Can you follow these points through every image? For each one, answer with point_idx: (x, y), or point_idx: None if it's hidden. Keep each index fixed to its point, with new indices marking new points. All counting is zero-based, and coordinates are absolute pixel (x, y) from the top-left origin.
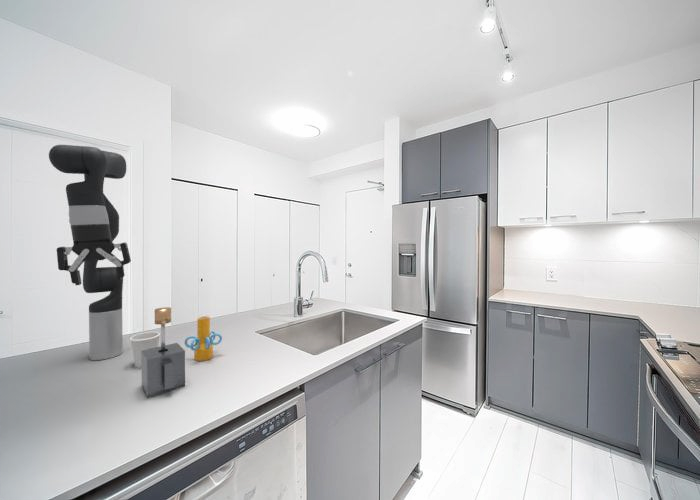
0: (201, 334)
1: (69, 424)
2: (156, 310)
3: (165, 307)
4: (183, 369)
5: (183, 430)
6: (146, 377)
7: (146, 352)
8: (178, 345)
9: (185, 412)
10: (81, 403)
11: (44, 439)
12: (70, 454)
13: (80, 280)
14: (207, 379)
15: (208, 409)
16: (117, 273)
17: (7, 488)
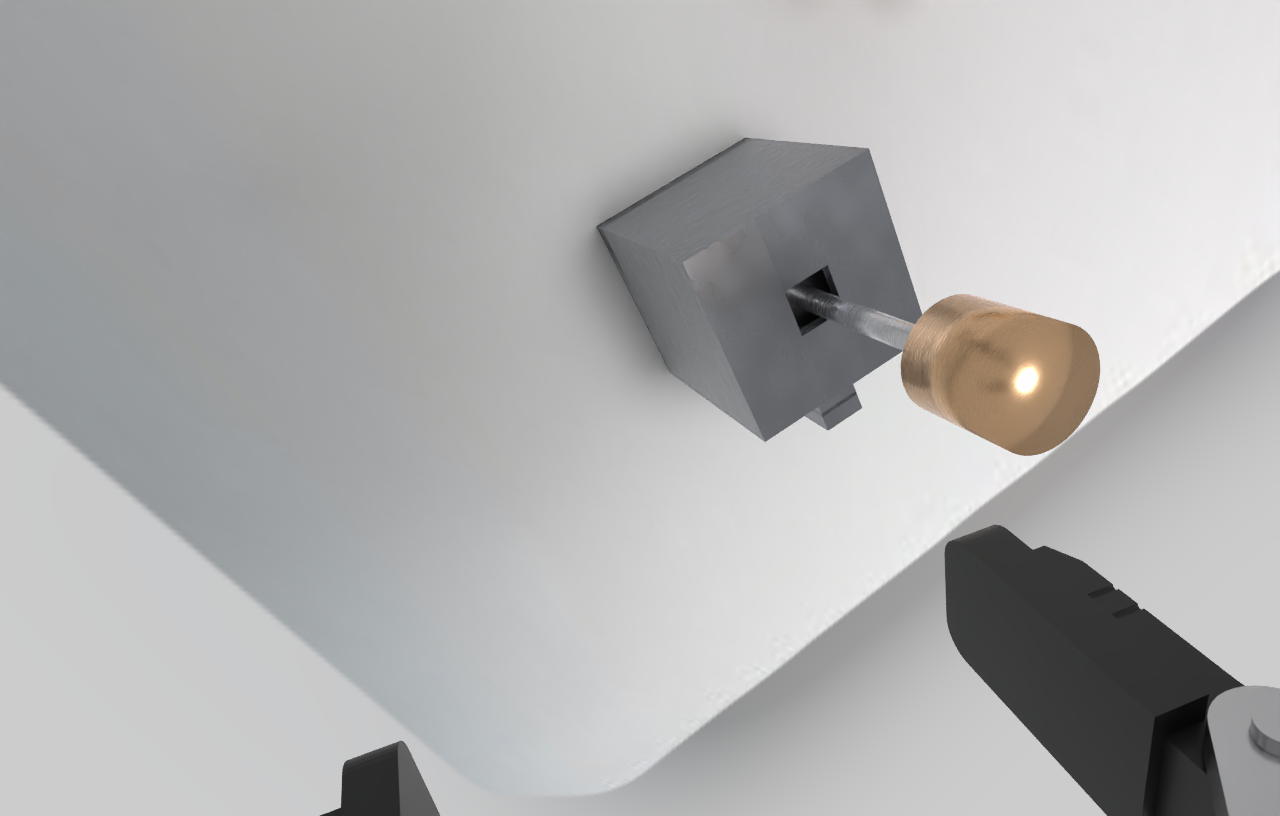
0: None
1: (436, 520)
2: (1006, 448)
3: (1060, 331)
4: None
5: (840, 601)
6: (704, 386)
7: (725, 310)
8: (885, 218)
9: (833, 505)
10: (367, 348)
11: (407, 600)
12: (557, 676)
13: (411, 812)
14: None
15: (901, 499)
16: (1045, 730)
17: (474, 781)
